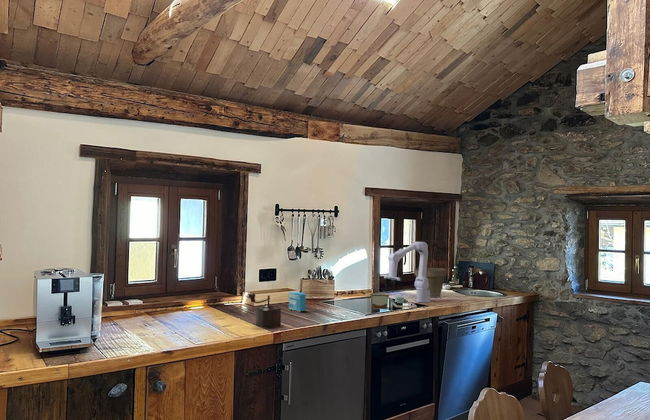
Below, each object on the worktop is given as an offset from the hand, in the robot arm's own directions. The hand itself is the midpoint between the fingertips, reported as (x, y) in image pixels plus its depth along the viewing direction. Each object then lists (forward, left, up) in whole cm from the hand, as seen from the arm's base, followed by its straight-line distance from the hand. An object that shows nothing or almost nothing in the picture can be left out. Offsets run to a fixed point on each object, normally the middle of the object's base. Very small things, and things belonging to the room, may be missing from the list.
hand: (391, 289), depth 333 cm
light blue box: (+67, +23, -11) cm, 71 cm away
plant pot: (-39, -37, -11) cm, 55 cm away
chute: (-8, -2, -10) cm, 14 cm away
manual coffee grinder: (+86, +66, -11) cm, 108 cm away
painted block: (-8, -10, -11) cm, 17 cm away
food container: (+11, +14, -11) cm, 20 cm away
